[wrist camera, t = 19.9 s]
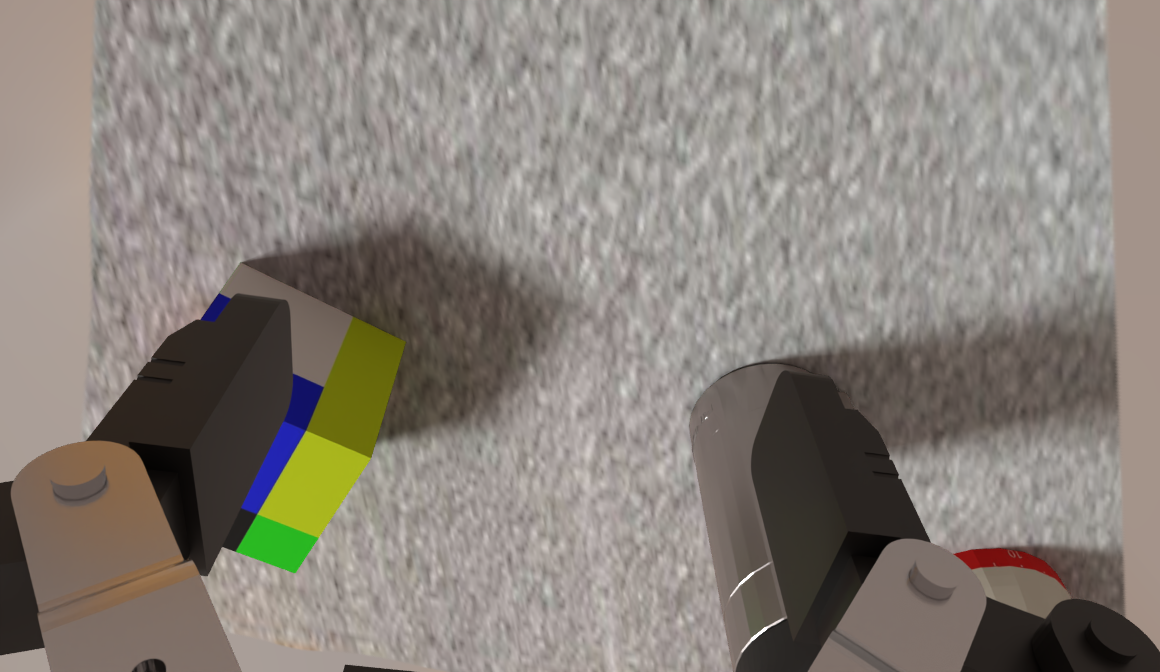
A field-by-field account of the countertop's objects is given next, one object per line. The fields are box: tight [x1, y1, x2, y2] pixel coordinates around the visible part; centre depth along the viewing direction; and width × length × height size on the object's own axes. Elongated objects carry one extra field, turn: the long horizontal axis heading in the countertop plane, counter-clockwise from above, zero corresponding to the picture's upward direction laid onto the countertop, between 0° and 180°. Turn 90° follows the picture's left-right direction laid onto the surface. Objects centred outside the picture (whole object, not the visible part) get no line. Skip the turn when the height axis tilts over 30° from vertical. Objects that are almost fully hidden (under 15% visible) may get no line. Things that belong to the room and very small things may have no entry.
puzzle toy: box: [201, 262, 406, 573], centre depth 44 cm, size 10×10×10 cm
